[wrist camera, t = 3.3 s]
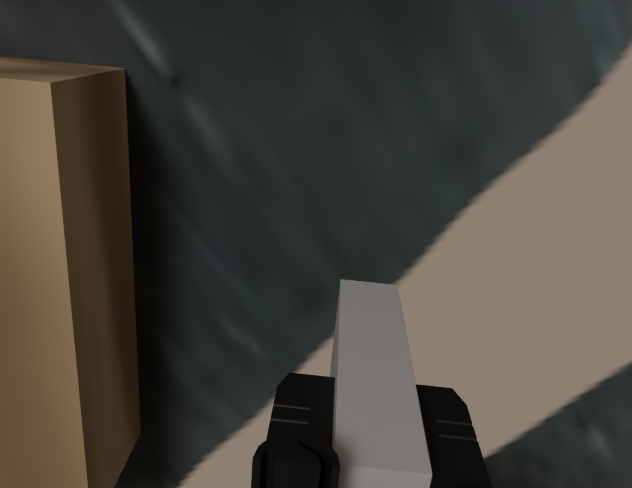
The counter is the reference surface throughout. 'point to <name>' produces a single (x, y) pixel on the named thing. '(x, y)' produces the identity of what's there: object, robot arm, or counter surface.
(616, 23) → the counter surface
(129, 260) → the tee
